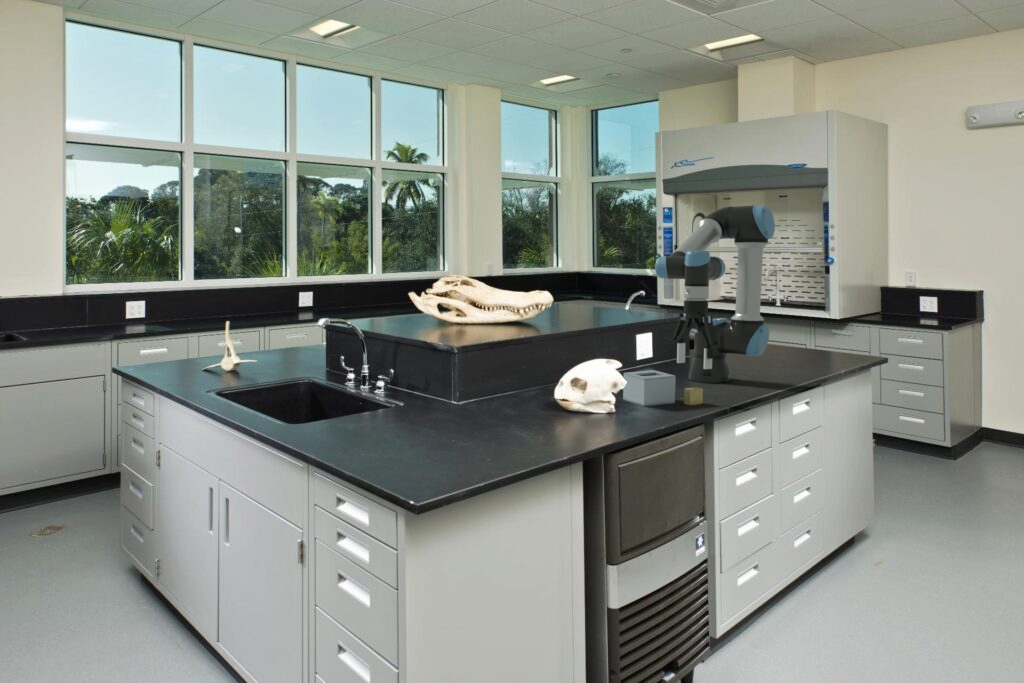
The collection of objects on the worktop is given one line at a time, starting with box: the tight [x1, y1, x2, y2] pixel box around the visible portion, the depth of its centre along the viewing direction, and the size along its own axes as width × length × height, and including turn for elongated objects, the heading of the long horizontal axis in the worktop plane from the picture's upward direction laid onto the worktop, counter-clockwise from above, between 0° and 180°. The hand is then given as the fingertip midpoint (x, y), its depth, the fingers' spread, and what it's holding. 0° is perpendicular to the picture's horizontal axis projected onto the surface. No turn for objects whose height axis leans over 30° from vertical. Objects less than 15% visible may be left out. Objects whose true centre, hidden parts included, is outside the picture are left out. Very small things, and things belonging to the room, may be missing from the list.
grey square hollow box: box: [622, 369, 677, 408], centre depth 247 cm, size 12×12×9 cm
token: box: [683, 386, 704, 406], centre depth 244 cm, size 5×3×5 cm, turn 114°
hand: (693, 365), depth 242 cm, fingers open, 13 cm apart
